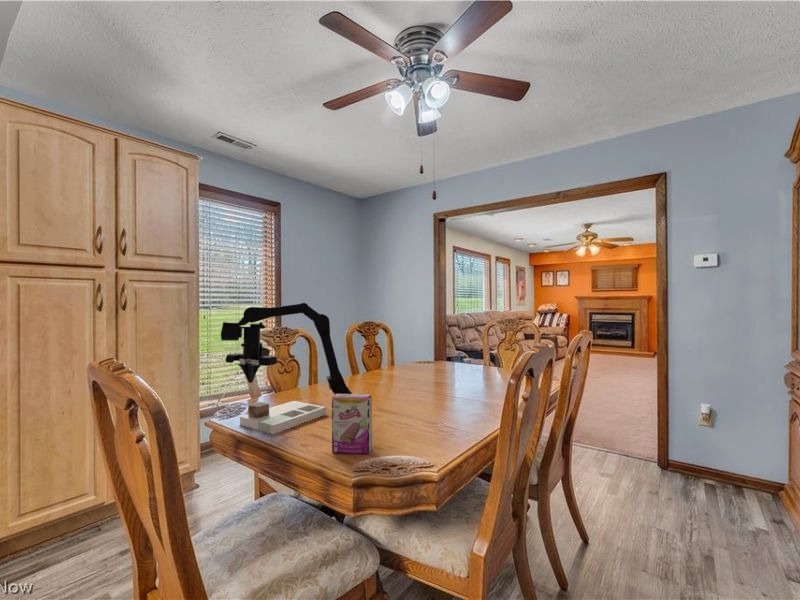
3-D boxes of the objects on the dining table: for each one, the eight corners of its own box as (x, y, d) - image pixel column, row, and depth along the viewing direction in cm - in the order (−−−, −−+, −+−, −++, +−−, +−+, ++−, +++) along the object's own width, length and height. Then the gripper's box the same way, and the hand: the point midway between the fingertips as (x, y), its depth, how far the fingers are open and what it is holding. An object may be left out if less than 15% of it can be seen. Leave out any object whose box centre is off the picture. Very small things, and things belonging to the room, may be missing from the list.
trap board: (326, 414, 148) (326, 407, 148) (273, 434, 127) (273, 425, 127) (294, 407, 158) (294, 400, 158) (239, 425, 137) (239, 416, 137)
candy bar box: (331, 454, 110) (330, 397, 110) (336, 447, 115) (335, 393, 115) (369, 455, 109) (369, 398, 109) (372, 448, 114) (372, 393, 114)
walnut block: (269, 414, 138) (269, 403, 138) (257, 418, 134) (257, 407, 134) (260, 412, 141) (260, 401, 141) (248, 416, 137) (248, 405, 137)
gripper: (286, 340, 147) (285, 380, 147) (245, 337, 152) (244, 376, 152) (268, 342, 136) (266, 386, 136) (225, 340, 142) (223, 382, 142)
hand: (250, 382), depth 142 cm, fingers closed
